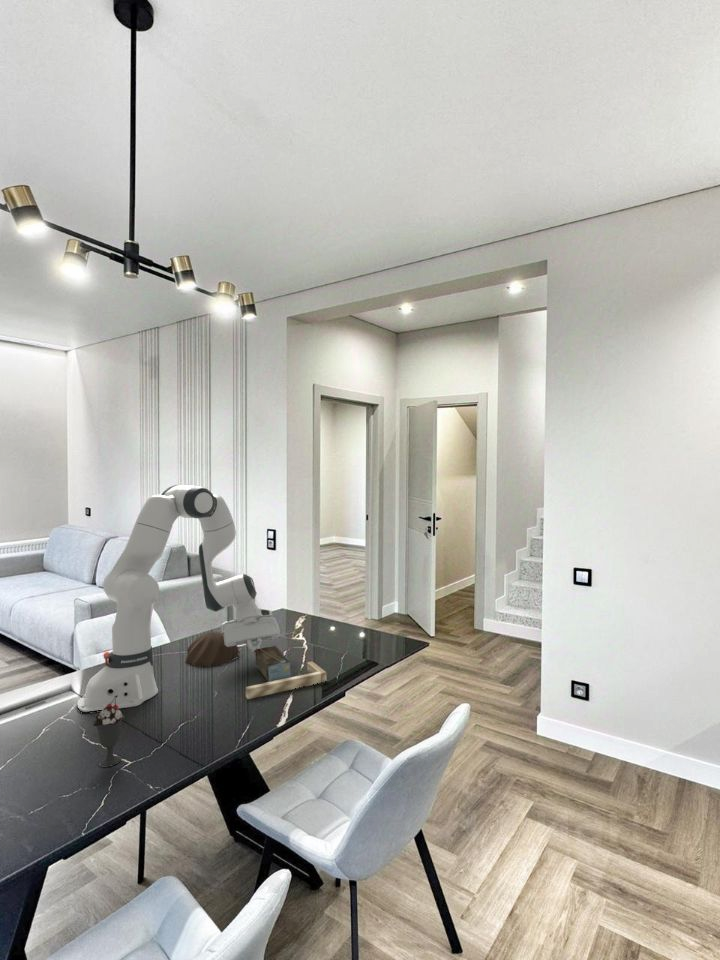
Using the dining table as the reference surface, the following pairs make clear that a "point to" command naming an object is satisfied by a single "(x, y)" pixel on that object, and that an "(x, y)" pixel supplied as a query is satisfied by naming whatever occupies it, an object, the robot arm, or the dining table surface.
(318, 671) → the oak fence
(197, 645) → the decorative dome
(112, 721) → the sundae
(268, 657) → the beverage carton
